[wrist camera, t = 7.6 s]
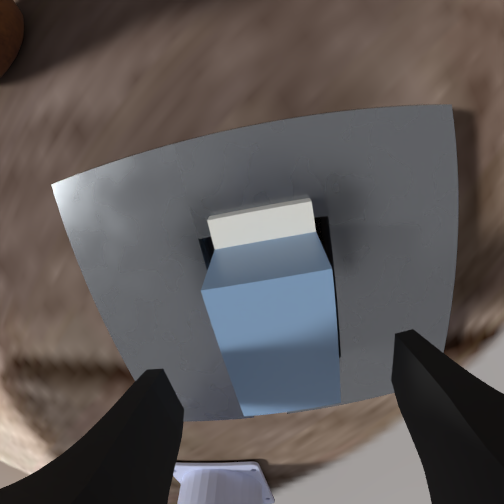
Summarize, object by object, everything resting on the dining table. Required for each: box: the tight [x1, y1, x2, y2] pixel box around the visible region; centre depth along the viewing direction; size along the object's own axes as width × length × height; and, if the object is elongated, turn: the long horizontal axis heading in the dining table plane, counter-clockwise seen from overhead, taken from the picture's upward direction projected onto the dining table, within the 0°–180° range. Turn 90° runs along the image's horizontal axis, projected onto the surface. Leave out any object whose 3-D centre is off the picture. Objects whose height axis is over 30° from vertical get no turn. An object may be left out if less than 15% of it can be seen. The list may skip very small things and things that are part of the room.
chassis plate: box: [52, 105, 458, 421], centre depth 14 cm, size 14×16×2 cm
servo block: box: [201, 198, 341, 416], centre depth 12 cm, size 8×4×6 cm, turn 12°
